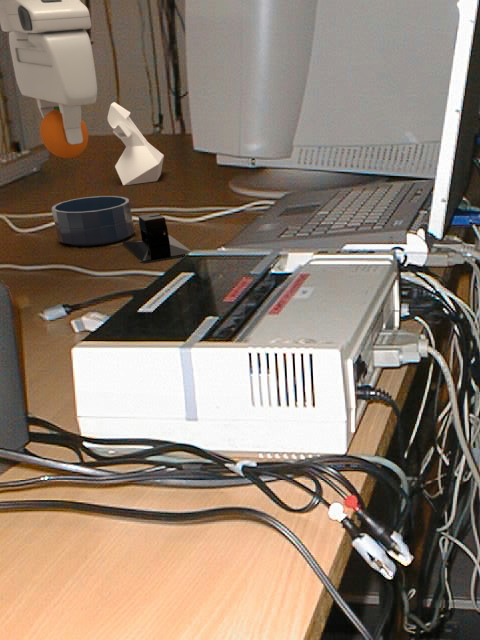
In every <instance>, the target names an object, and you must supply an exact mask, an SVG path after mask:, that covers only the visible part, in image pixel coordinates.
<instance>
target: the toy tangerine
mask: <svg viewBox="0 0 480 640" xmlns="http://www.w3.org/2000/svg"><path fill="white" fill-rule="evenodd" d="M53 108H54V110H52V111H50V112H49V113H47V114H46V115H45V117H44V118H43V117H42V120H41V122H40V125H39V135H40V139H41V142H42V143H43V145H44V147H45V148H46V149H47V150H48V151H49V152H50V153H51V154H53V155H54V156H56V157H59V158H60V159H61V158H62V159H72V158H76V157H78V156H80V155H81V154H82V153H83V152H84V151H85V149H87V146H88V143H89V131H88V128H87V125H86V123H85V121H84V120H83V119H82V118H81V132H82V137H83V142H82V143H79V144H69V143H67V142H66V141H65V138H64V134H63V130H62V128H64V125H63V117H62V113H60V109H59V105H58V106H57V107H53Z"/></svg>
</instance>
